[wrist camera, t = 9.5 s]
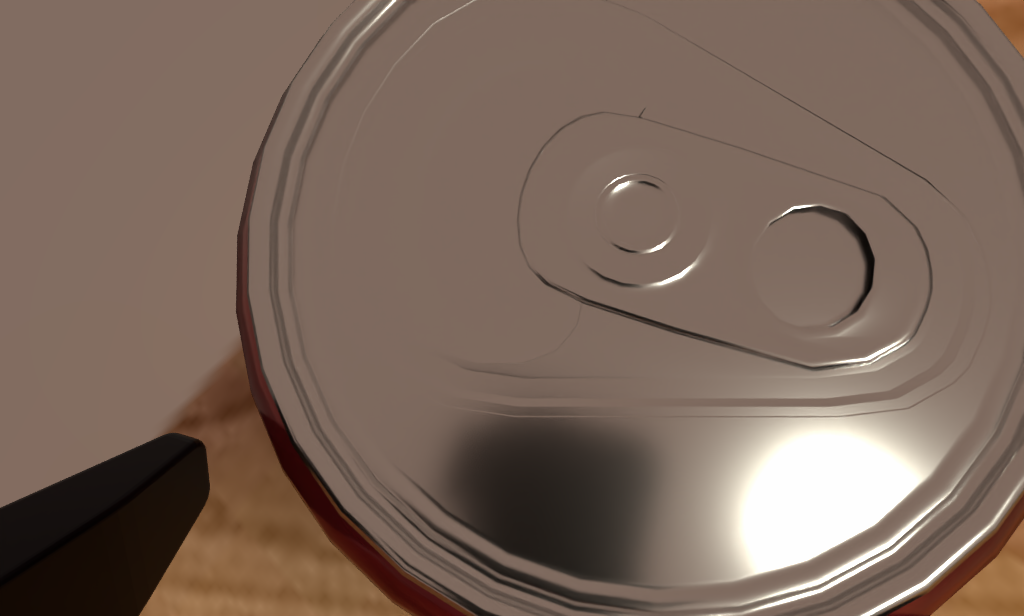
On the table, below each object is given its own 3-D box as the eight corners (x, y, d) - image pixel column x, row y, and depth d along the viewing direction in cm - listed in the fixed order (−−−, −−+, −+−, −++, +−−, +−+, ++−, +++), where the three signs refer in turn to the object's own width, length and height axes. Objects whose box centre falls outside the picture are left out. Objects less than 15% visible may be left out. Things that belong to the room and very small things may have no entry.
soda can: (394, 475, 17) (33, 458, 6) (517, 208, 19) (432, -252, 7) (685, 611, 16) (992, 946, 4) (794, 315, 17) (1248, -21, 6)
